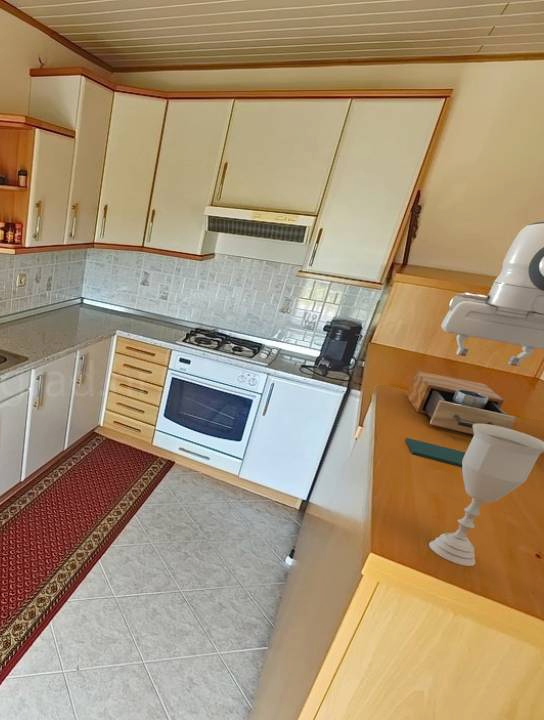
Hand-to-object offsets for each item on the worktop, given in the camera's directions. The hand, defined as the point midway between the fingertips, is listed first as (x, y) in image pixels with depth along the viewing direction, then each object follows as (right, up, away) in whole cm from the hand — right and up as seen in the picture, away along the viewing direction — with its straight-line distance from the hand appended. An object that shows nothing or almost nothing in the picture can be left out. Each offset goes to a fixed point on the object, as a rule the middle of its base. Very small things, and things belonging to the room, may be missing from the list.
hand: (486, 360), depth 110 cm
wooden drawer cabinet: (+4, -13, +16) cm, 20 cm away
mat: (-19, -20, -12) cm, 30 cm away
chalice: (-45, -29, -43) cm, 69 cm away
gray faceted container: (-1, -14, +5) cm, 15 cm away
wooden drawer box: (-3, -15, +3) cm, 16 cm away
